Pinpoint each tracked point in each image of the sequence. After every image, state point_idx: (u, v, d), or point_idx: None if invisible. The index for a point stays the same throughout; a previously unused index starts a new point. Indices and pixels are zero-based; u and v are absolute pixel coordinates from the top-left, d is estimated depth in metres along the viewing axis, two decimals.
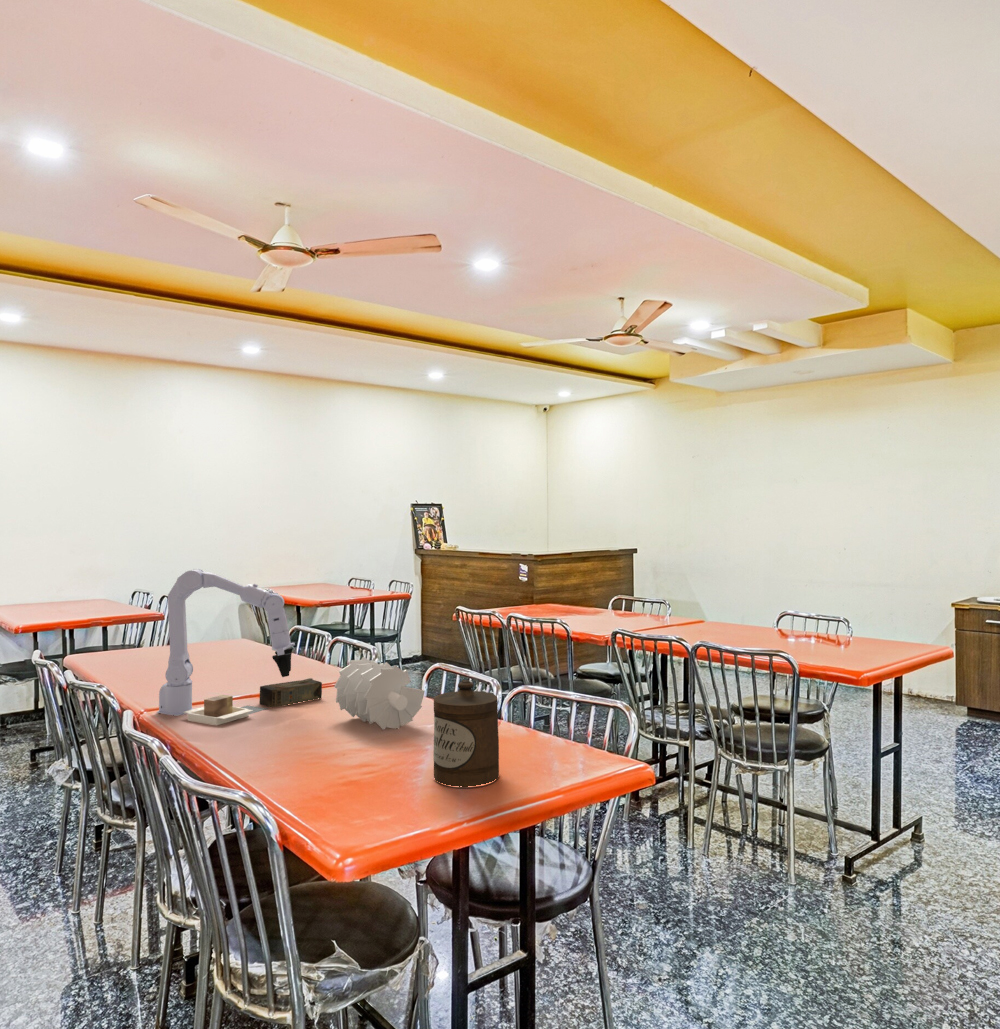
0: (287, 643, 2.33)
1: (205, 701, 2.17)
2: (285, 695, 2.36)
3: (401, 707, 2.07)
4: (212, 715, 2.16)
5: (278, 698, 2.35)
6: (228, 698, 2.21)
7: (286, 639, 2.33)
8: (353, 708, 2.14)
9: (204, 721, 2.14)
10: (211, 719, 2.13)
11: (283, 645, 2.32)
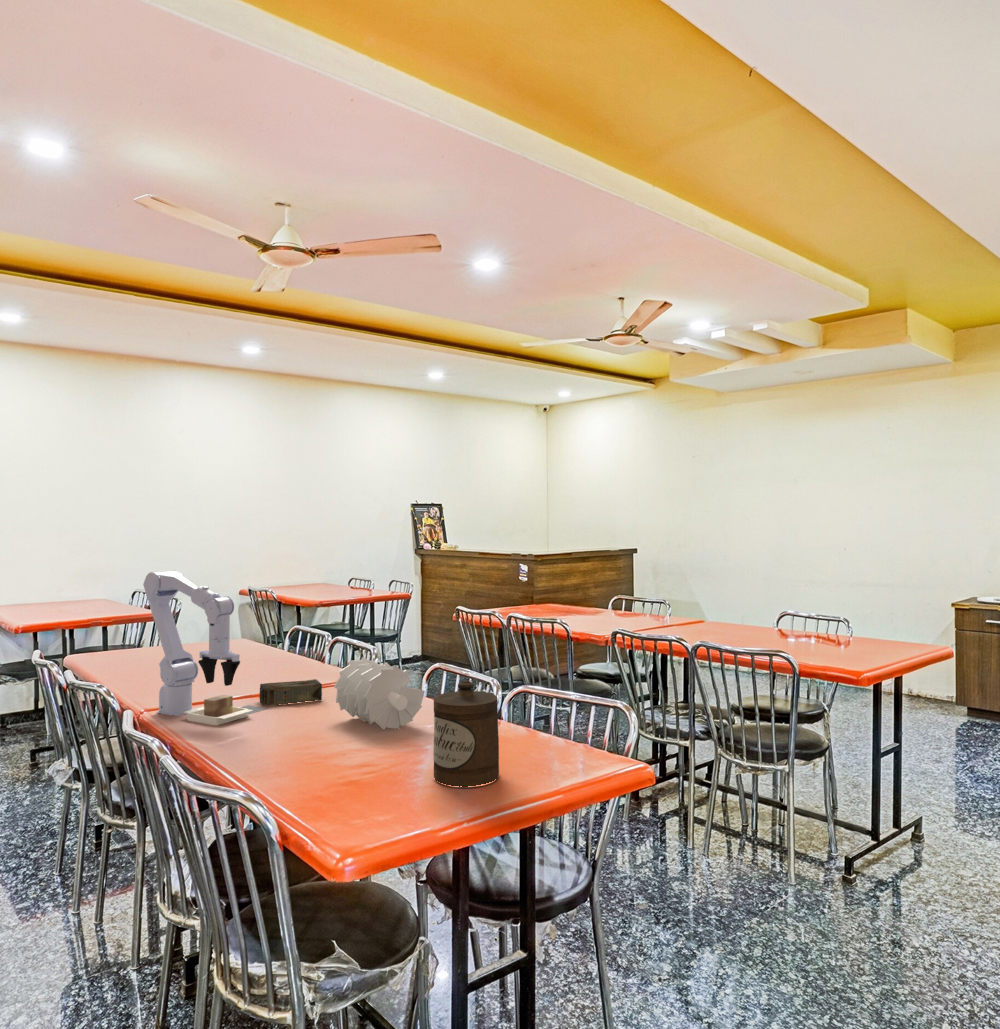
0: None
1: (205, 701, 2.17)
2: (279, 694, 2.37)
3: (401, 708, 2.07)
4: (212, 715, 2.16)
5: (271, 697, 2.36)
6: (228, 698, 2.21)
7: (229, 646, 2.21)
8: (353, 708, 2.14)
9: (204, 721, 2.14)
10: (211, 719, 2.13)
11: (228, 652, 2.20)
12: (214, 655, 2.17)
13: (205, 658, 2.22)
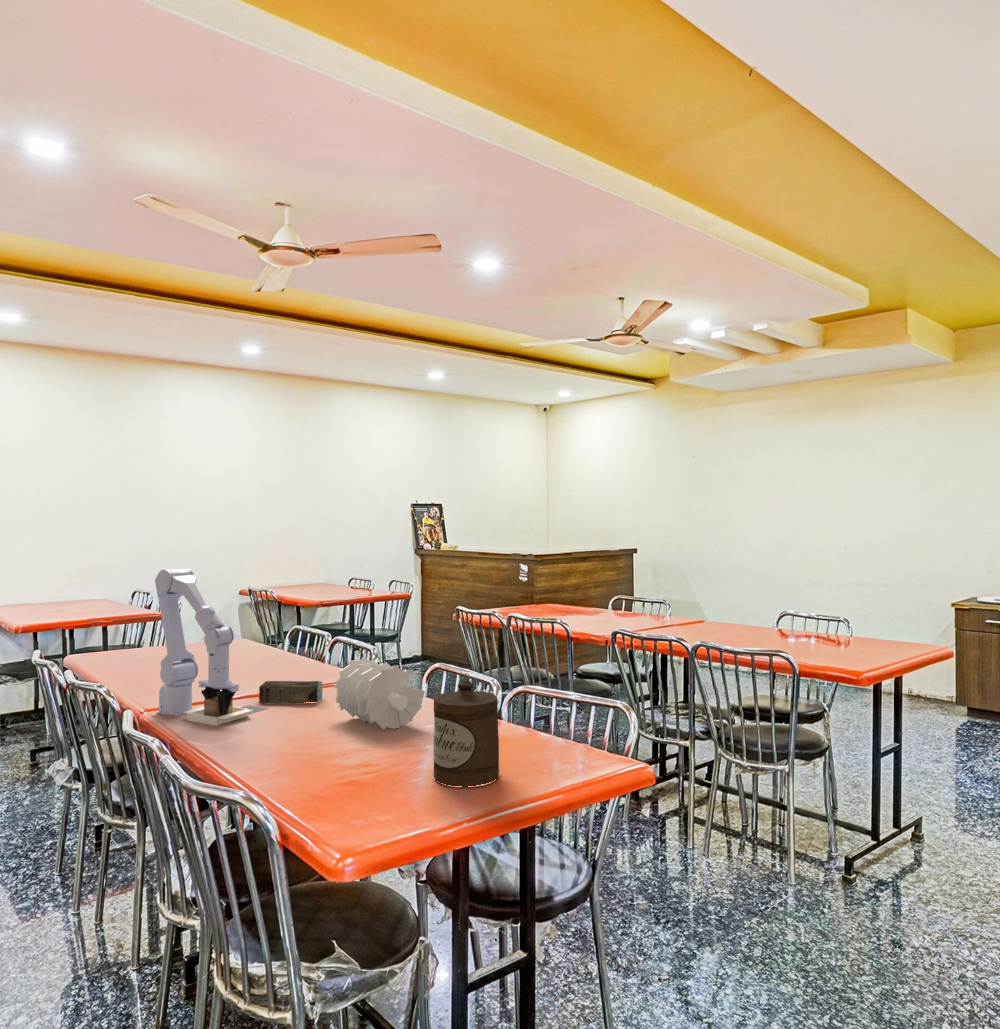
0: (228, 680, 2.21)
1: (205, 701, 2.17)
2: (274, 693, 2.39)
3: (401, 707, 2.07)
4: (212, 715, 2.16)
5: (266, 695, 2.39)
6: None
7: (228, 675, 2.21)
8: (353, 708, 2.14)
9: (204, 721, 2.14)
10: (211, 719, 2.13)
11: (227, 682, 2.19)
12: (213, 685, 2.17)
13: None
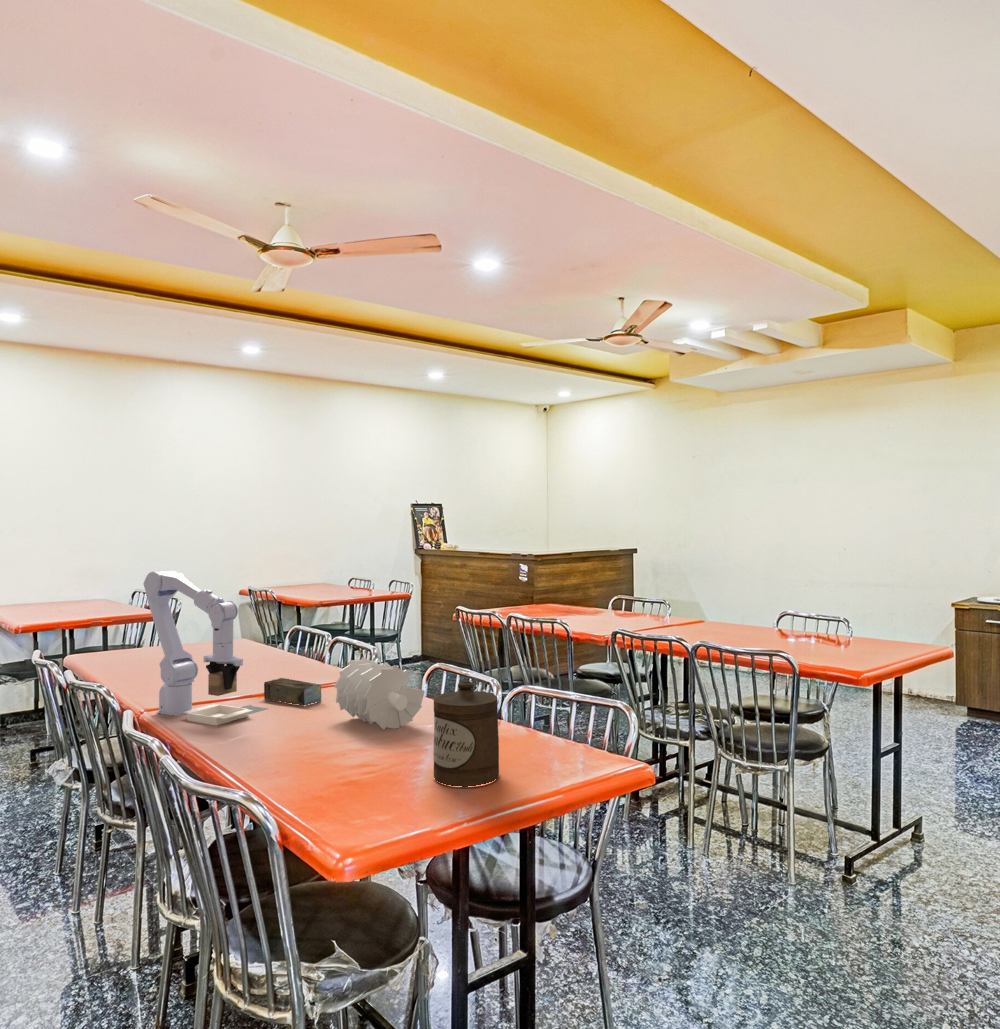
0: (233, 655, 2.22)
1: (209, 676, 2.19)
2: (273, 691, 2.43)
3: (401, 707, 2.07)
4: (216, 689, 2.18)
5: (268, 692, 2.44)
6: None
7: None
8: (353, 708, 2.14)
9: (204, 721, 2.14)
10: (211, 719, 2.13)
11: (231, 656, 2.21)
12: (218, 660, 2.19)
13: None
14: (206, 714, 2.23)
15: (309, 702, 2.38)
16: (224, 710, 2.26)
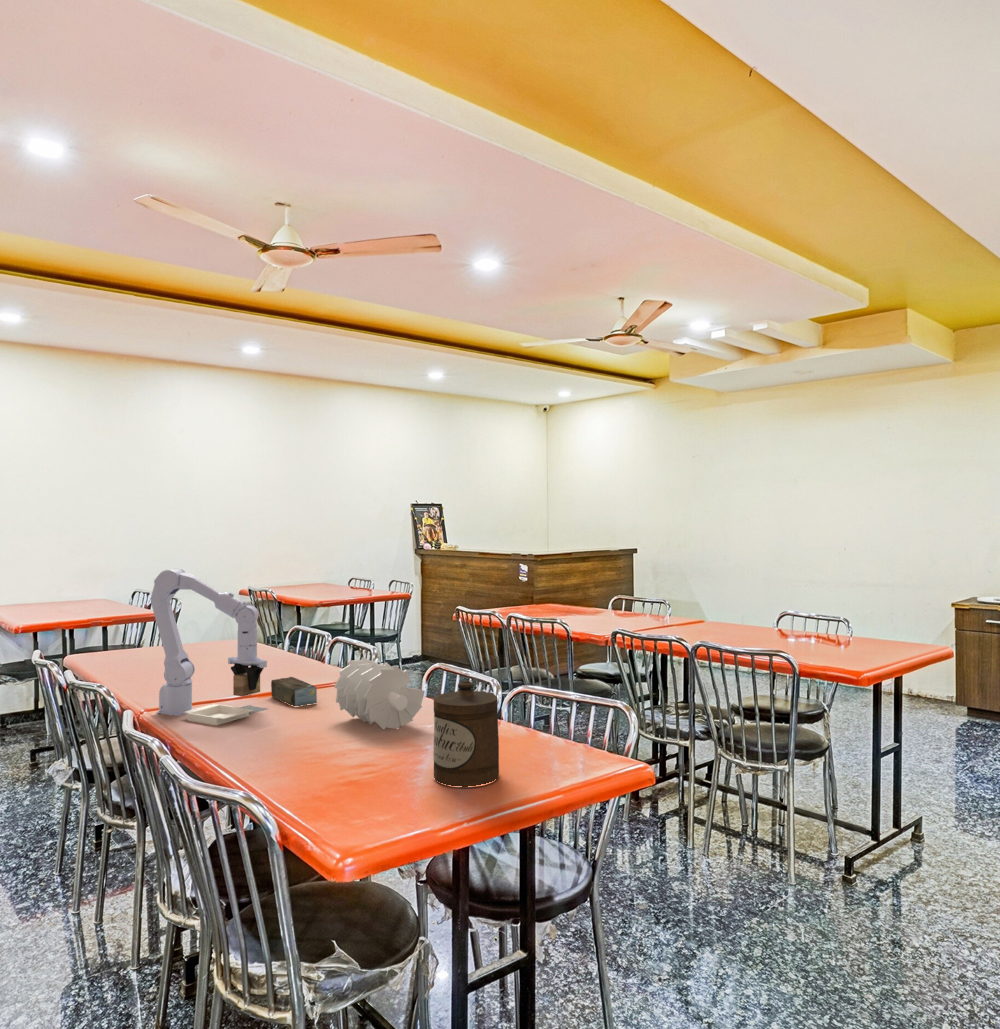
0: (256, 657, 2.31)
1: (234, 677, 2.27)
2: (276, 689, 2.45)
3: (401, 708, 2.07)
4: (241, 690, 2.26)
5: (273, 690, 2.47)
6: None
7: (256, 653, 2.31)
8: (353, 708, 2.14)
9: (204, 721, 2.14)
10: (211, 719, 2.13)
11: (255, 658, 2.29)
12: (242, 661, 2.27)
13: None
14: (206, 714, 2.23)
15: (301, 703, 2.36)
16: (224, 710, 2.26)
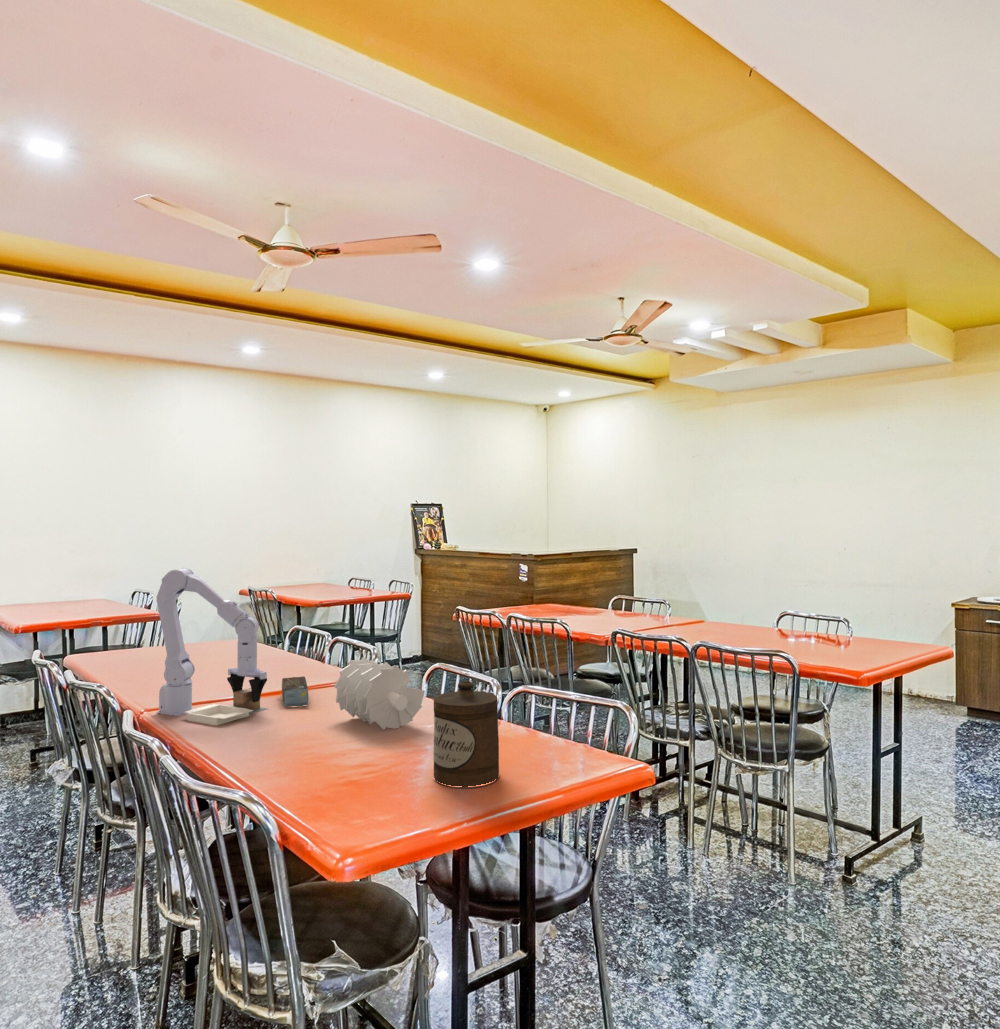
0: (256, 668, 2.31)
1: (234, 694, 2.27)
2: None
3: (401, 707, 2.07)
4: (241, 707, 2.26)
5: None
6: None
7: (256, 664, 2.31)
8: (353, 708, 2.14)
9: (204, 721, 2.14)
10: (211, 719, 2.13)
11: (255, 670, 2.29)
12: (242, 673, 2.27)
13: (233, 675, 2.31)
14: (206, 714, 2.23)
15: (291, 704, 2.35)
16: (224, 710, 2.26)
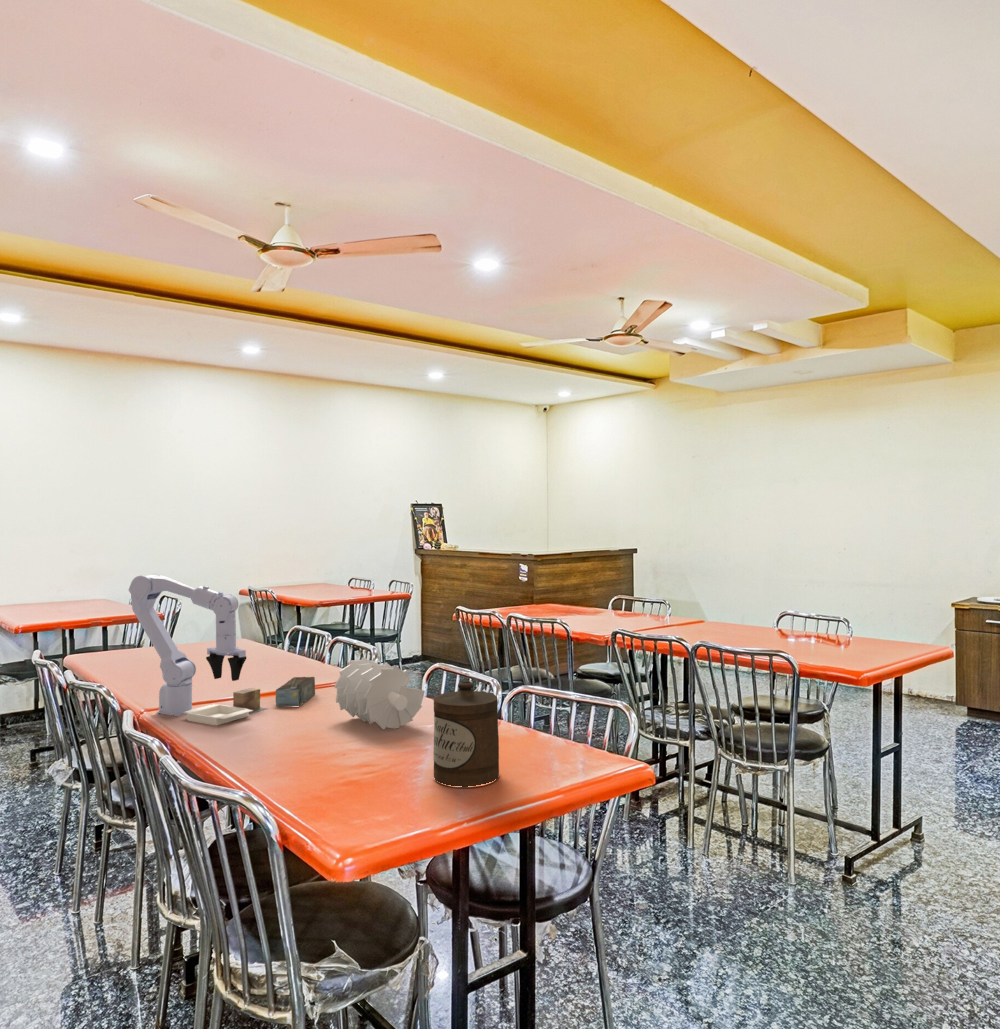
0: (235, 646, 2.28)
1: (234, 694, 2.27)
2: None
3: (401, 708, 2.07)
4: (241, 707, 2.26)
5: None
6: (256, 691, 2.30)
7: (235, 642, 2.28)
8: (353, 708, 2.14)
9: (204, 721, 2.14)
10: (211, 719, 2.13)
11: (234, 648, 2.27)
12: (221, 651, 2.24)
13: (212, 654, 2.29)
14: (206, 714, 2.23)
15: (282, 704, 2.35)
16: (224, 710, 2.26)
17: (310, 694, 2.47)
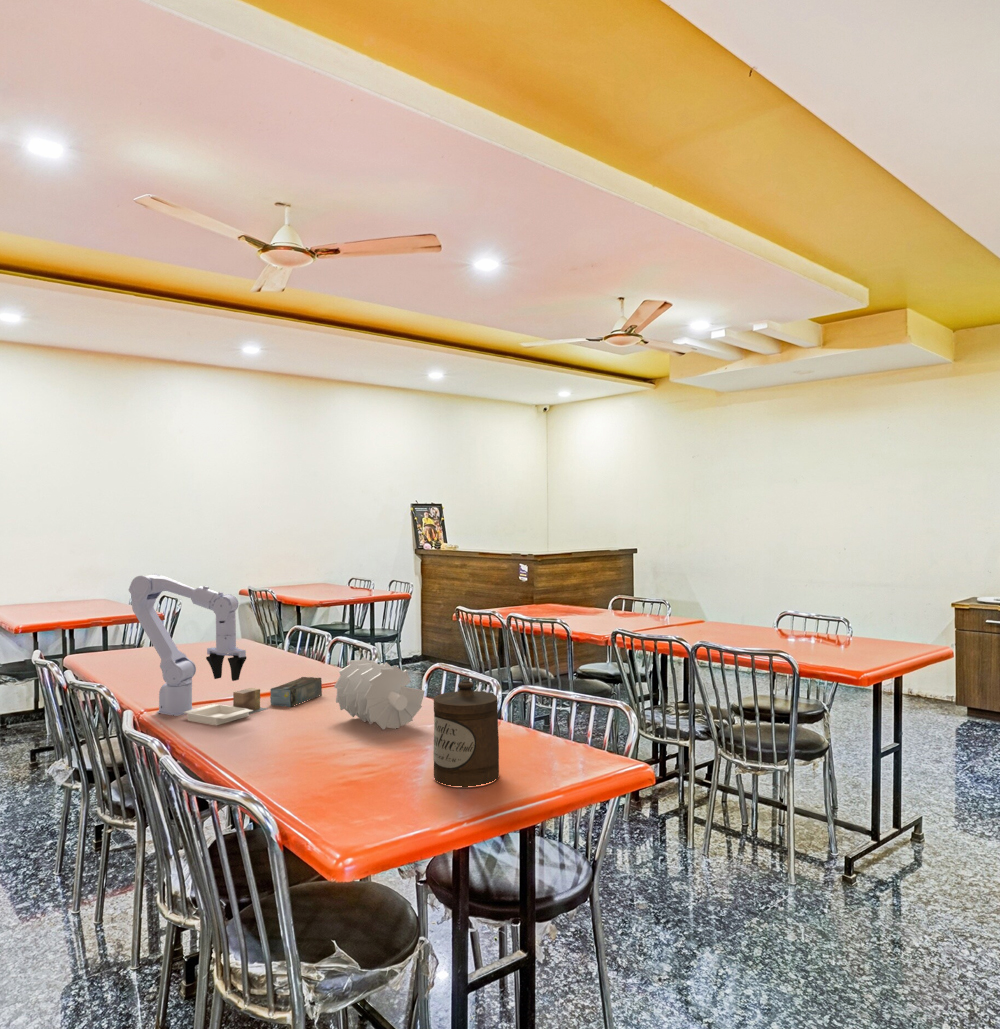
0: (235, 646, 2.28)
1: (234, 694, 2.27)
2: None
3: (401, 708, 2.07)
4: (241, 707, 2.26)
5: None
6: (256, 691, 2.30)
7: (235, 642, 2.28)
8: (353, 708, 2.14)
9: (204, 721, 2.14)
10: (211, 719, 2.13)
11: (234, 648, 2.27)
12: (221, 651, 2.24)
13: (212, 654, 2.29)
14: (206, 714, 2.23)
15: (276, 704, 2.36)
16: (224, 710, 2.26)
17: (311, 695, 2.46)
